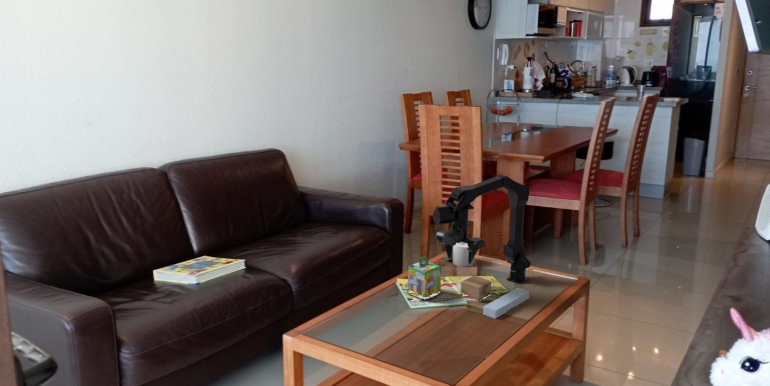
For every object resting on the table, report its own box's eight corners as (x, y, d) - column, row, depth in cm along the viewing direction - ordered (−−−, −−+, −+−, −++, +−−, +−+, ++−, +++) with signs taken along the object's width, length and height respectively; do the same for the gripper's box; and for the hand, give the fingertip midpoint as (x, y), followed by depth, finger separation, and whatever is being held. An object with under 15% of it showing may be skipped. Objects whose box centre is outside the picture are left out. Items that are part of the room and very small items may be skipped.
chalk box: (425, 301, 231) (425, 264, 227) (407, 294, 237) (407, 257, 233) (441, 294, 237) (442, 257, 233) (423, 287, 244) (423, 251, 240)
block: (473, 290, 241) (473, 275, 240) (490, 296, 236) (491, 281, 234) (460, 296, 236) (461, 281, 234) (478, 302, 230) (479, 287, 229)
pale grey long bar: (517, 295, 236) (517, 287, 235) (528, 299, 233) (529, 291, 232) (483, 314, 221) (483, 306, 220) (495, 318, 217) (495, 310, 217)
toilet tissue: (441, 260, 272) (441, 241, 270) (471, 258, 274) (471, 239, 272) (447, 267, 263) (447, 248, 261) (477, 265, 265) (478, 246, 263)
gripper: (427, 221, 233) (426, 260, 237) (469, 231, 221) (468, 273, 225) (445, 214, 241) (444, 253, 245) (486, 224, 229) (485, 264, 233)
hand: (459, 260), depth 237 cm, fingers open, 9 cm apart
